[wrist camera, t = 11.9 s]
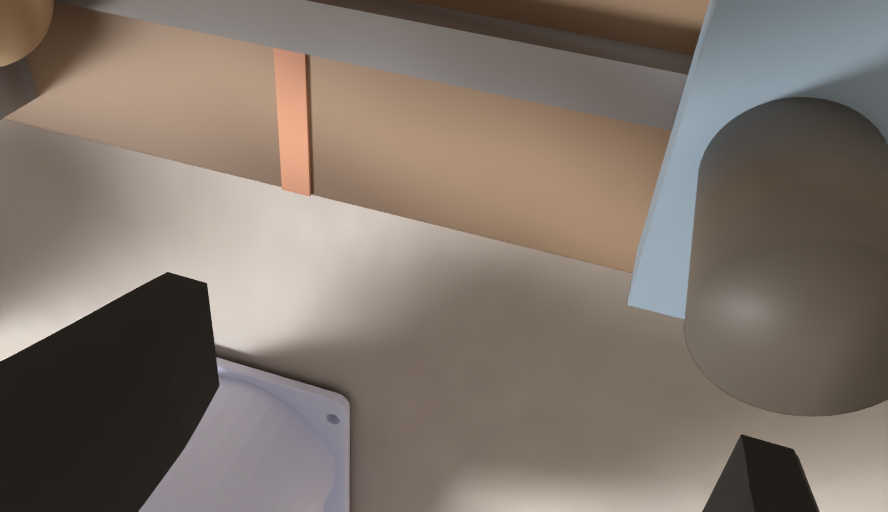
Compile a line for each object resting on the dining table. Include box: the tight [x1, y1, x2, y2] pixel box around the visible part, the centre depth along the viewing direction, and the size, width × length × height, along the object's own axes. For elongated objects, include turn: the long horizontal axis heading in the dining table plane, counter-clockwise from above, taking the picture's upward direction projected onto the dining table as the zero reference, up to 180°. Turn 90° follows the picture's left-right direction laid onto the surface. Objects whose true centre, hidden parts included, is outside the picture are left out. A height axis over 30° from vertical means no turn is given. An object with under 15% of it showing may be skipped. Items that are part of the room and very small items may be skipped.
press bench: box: [0, 0, 710, 273], centre depth 16 cm, size 10×28×6 cm, turn 85°
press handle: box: [627, 0, 888, 416], centre depth 12 cm, size 7×4×6 cm, turn 175°
